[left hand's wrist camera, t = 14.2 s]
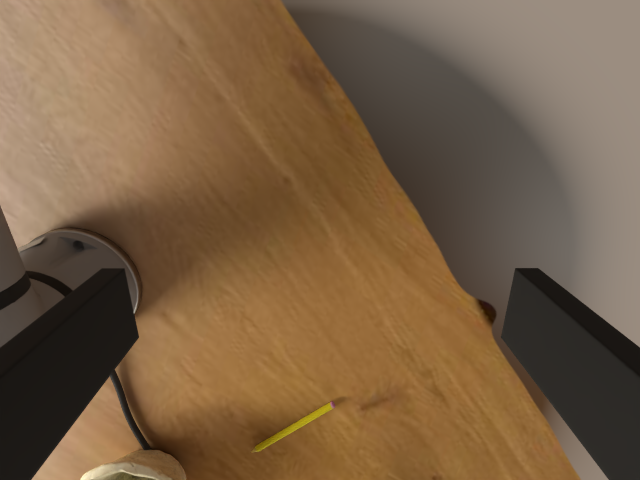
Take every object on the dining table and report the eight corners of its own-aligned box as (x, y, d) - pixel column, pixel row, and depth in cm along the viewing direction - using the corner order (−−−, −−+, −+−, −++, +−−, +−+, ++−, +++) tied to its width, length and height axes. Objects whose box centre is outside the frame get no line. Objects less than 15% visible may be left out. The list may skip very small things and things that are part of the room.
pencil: (331, 399, 56) (331, 404, 55) (335, 403, 57) (335, 408, 56) (248, 448, 60) (247, 453, 59) (252, 451, 60) (251, 457, 59)
